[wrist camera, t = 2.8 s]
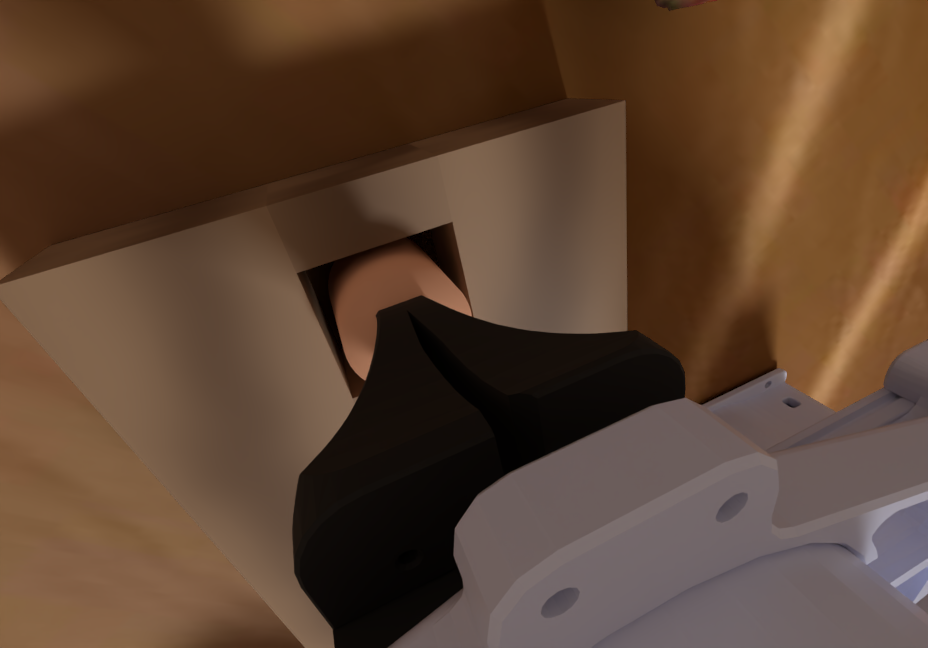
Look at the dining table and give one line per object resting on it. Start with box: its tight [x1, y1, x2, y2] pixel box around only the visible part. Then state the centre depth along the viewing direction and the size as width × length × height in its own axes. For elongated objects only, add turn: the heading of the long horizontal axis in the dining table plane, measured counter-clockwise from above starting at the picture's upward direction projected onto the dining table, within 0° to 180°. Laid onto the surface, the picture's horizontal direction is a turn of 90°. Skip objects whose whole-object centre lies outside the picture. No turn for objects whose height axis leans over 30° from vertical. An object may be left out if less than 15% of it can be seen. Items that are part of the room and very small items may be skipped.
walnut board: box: [0, 98, 627, 648], centre depth 19 cm, size 16×24×3 cm, turn 12°
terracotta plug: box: [328, 237, 472, 380], centre depth 14 cm, size 4×4×4 cm
